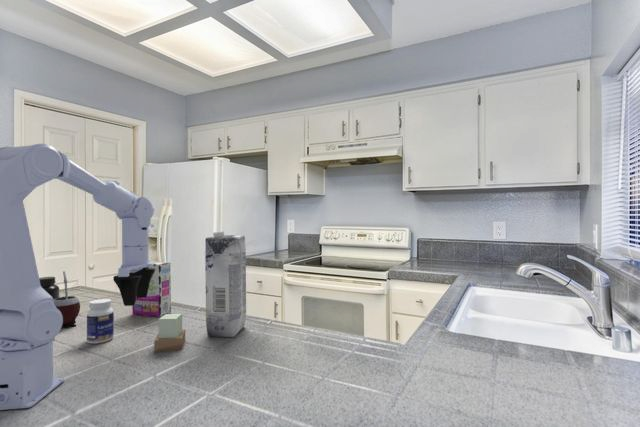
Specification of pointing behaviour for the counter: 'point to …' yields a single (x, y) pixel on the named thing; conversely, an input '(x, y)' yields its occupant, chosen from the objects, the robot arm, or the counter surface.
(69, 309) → the mate gourd
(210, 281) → the juice carton
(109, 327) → the pill bottle
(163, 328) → the sage block
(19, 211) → the robot arm
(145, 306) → the candy bar box
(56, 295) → the supplement bottle
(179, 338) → the walnut block
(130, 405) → the counter surface
